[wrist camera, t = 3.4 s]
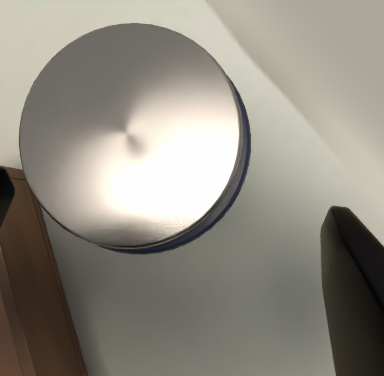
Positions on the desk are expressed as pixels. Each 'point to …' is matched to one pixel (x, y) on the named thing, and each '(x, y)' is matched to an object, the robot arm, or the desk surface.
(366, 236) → the robot arm
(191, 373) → the desk surface
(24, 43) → the desk surface
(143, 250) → the can
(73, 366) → the desk bin
